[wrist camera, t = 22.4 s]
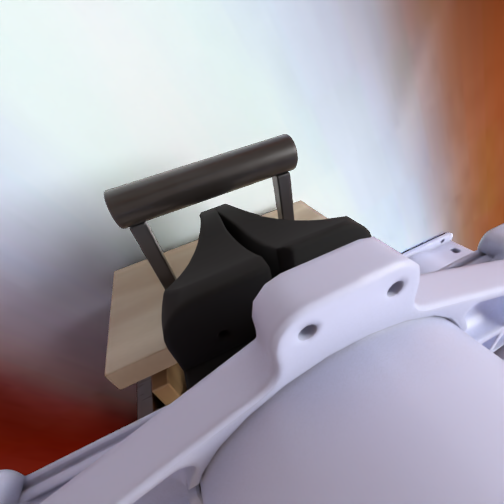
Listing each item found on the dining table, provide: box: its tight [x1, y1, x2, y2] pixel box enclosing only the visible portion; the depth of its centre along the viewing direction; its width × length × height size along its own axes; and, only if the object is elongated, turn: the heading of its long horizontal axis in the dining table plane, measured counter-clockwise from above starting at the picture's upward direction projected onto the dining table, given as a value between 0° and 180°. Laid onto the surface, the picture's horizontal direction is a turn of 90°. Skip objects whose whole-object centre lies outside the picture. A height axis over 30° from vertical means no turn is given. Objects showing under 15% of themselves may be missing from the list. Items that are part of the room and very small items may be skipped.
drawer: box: [104, 134, 328, 406], centre depth 15 cm, size 18×12×7 cm
